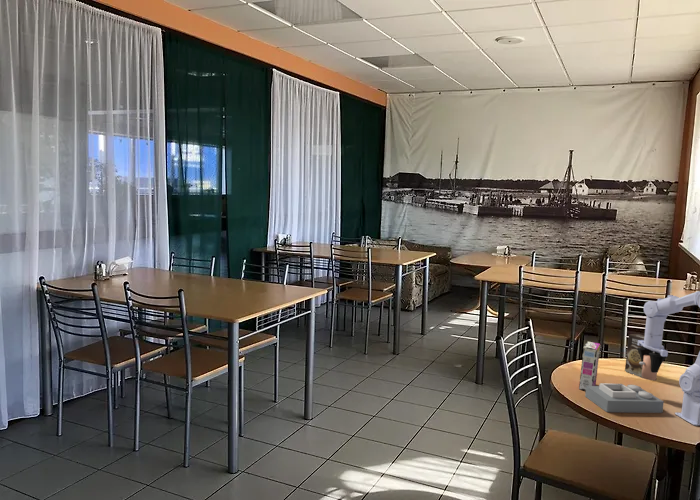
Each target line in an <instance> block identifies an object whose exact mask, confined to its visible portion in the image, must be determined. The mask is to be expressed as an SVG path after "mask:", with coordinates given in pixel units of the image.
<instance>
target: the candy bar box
mask: <svg viewBox="0 0 700 500" xmlns="http://www.w3.org/2000/svg"><path fill="white" fill-rule="evenodd" d="M600 348H601V343H598V342H593V341H592V342H591V341H587V342H586V343H585V344H584V346H583V348H582V350H583V351H582V357H581V358H582V360H581V369H580V375H579V384H578V390H580V391H581V390H582V391H585V392H586V386H596V384H597V379H598V378H597V376H598V368H599V359H600V352H601V351H600Z"/></svg>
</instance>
